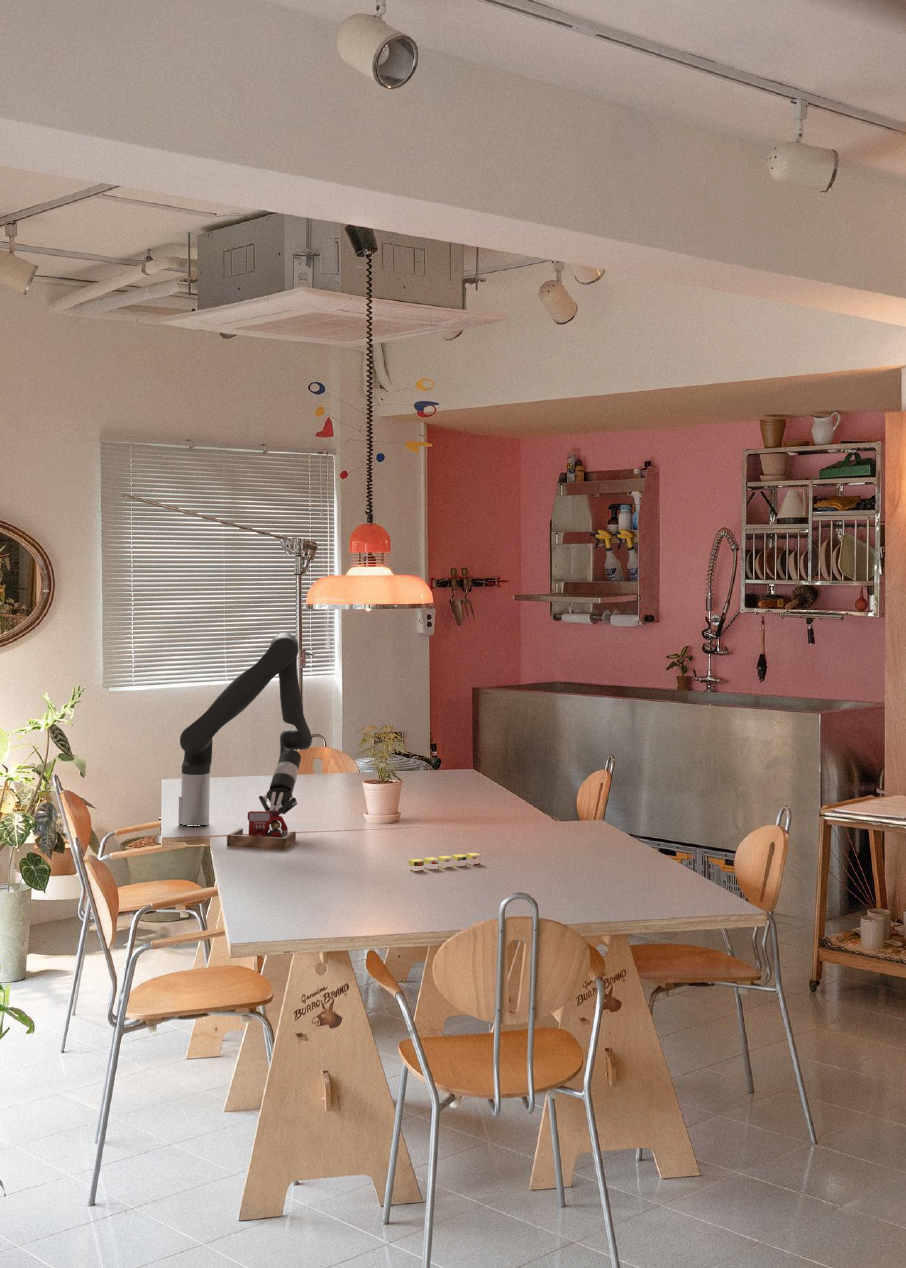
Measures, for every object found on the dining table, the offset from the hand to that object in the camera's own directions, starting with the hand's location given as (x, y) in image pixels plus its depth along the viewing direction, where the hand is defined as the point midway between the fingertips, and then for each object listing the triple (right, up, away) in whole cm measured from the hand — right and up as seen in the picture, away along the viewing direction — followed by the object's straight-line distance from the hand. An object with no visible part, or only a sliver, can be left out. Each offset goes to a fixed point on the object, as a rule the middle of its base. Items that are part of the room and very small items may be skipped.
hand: (271, 822), depth 406 cm
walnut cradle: (-2, -5, -9) cm, 11 cm away
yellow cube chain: (+57, -9, -35) cm, 67 cm away
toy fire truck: (0, -6, -8) cm, 10 cm away
